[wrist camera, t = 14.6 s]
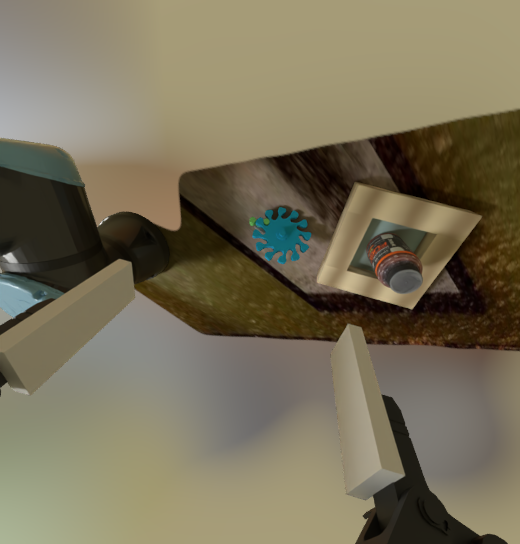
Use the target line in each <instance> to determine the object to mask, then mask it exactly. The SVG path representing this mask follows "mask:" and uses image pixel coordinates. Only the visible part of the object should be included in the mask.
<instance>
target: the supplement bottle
mask: <svg viewBox="0 0 520 544" xmlns="http://www.w3.org/2000/svg"><path fill="white" fill-rule="evenodd" d="M366 253H367V257H368V259H369V261H370V263H371V265H372V268H373V270H374V272H375V274H376V276H377V278H378V280H379V281H380V282H381V283H382V284H383V285H384V286H386V287H388V288H391V289H392V290H393V291H394V292H396V293H399V294H408V293H412V292H414V291H416V290H417V289H418V288H419V287H420V286H421V285H422V282H423V277H422V271H423V266H422V263H421V261H420V259H419V258H418V257H417V256H416V255H415V253H414V252H413V251H412V250H411V249H410V248H409V247H408V246H407V244H406V243H405V242H404V241H403V240H402V239H401V238H400V237H399V236H398V235H396V234H393V233H383V234H379V235H377V236H375V237H374V238H373V239H371V240H370V242H369V243H368V245H367V248H366Z"/></svg>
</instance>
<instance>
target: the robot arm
mask: <svg viewBox="0 0 520 544" xmlns="http://www.w3.org/2000/svg"><path fill="white" fill-rule="evenodd" d="M84 187H85V184H84V183H83V182H82V180H81V177H80V175H79V172H78V170H77V167H76V165H75V162H74V160H73V158H72V157H71V156H70V154H68V153H67V152H66V151H65V150H63V149H61V148H59V147H57V146H53V145H47V144H41V143H34V142H27V141H19V140H12V139H5V138H0V268H1V269H2V273H0V308H2V309H3V310H4V311H5V312H6V313H8V314H9V315H10V316H12V317H13V319H10V320H9V321H7V322H5V323H4V324H2V325H0V387H2V386H3V385H4V384H5V383H7V382H8V384H9V385H10V387H11V388H12V390H14V391H17V392H20V393H23V394H26V395H32V394H33V393H34V392H35V391H36V390H37V389H38V388H39V387H40V386H41V385H42V384H43V383H44V382H45V381H47V380H48V379H49V378H50V377H51V376H52V375H53V374H54V373H55V372H56V371H57V370H58V369H59V368H61V367H62V366H63V365H64V364H65V363H66V362H67V361H68V360H69V359H70V358H71V357H72V356H73V355H74V354H76V353H77V352H78V351H79V350H80V349H81V348H82V347H83V346H84V345H85V344H86V343H87V342H88V341H89V340H90V339H92V338H93V337H94V336H95V335H96V334H97V333H98V332H99V331H100V330H101V329H102V328H103V327H104V326H106V324H108V323H109V322H110V321H111V320H112V319H113V318H114V317H115V316H116V315H117V314H118V313H119V312H121V311H122V309H124V308H125V307H126V306H127V305H128V304H129V303H130V302H131V301H132V300H133V299H134V298H135V291H134V284H137V283H140V282H143V281H145V280H148V279H151V278H154V277H155V276H157V275H158V274H160V273H161V272H162V271H163V270H164V269H165V268H166V266H167V264H168V261H169V249H168V245H167V242H166V240H165V238H164V236H163V235H162V233H161V232H160V231H159V229H158V228H157V227H156V226H155V225H154V224H153V223H152V222H150V221H149V220H148V219H146V218H145V217H143V216H141V215H139V214H136V213H132V212H119V213H116V214H113V215H111V216H108V217H107V218H105V219H104V220H103V221H102V222H101V223H100V224H99V226H98V227H97V225H96V222H95V219H94V216H93V214H92V210H91V207H90V204H89V201H88V198H87V195H86V191H85V188H84ZM330 358H331V366H332V375H333V384H334V392H335V401H336V410H337V419H338V426H339V436H340V444H341V454H342V462H343V471H344V480H345V489H346V494H347V495H350V496H353V497H357V498H360V499H363V500H367V499H369V498H370V497H372V496H373V497H374V503H375V508H373V509H371V510H370V511H368V512H366V513H365V514H364V515H363V517H364V518H365V519H367V518H368V520H367V522H366V524H365V526H364V528H363V530H362V532H361V534H360V535H359V537H358V540H357V542H356V543H355V544H508V543H507V542H505V541H504V540H503V539H501V538H499V537H498V536H496V535H492V534H486V535H482V536H479V535H478V534H476V533H475V532H474V531H472V530H470V529H469V528H468V527H466V526H465V525H463V524H462V523H461V522H459V521H458V520H456V519H455V518H453V517H452V516H451V515H450V514H448V512H447V511H446V509H445V507H444V505H443V504H442V503H441V501H440V500H439V499H438V498H437V496H436V495H434V494H433V493H432V492H431V491H430V490H429V488H428V486H427V484H426V481H425V478H424V476H423V473H422V470H421V467H420V464H419V461H418V458H417V456H416V453H415V450H414V447H413V444H412V441H411V439H410V438H409V433H408V430H407V427H406V426H405V421H404V419H403V416H402V413H401V410H400V409H399V407H398V406H397V404H396V403H395V401H394V400H393V398H392V397H388V396H385V395H382V394H381V392H380V389H379V385H378V382H377V379H376V375H375V372H374V368H373V365H372V362H371V359H370V355H369V352H368V348H367V345H366V341H365V338H364V335H363V331H362V328H361V327H357V326H354V325H350V324H348V325H347V327H346V329H345V330H344V332H343V334H342V335H341V337H340V339H339V340H338V342H337V344H336V345H335V347H334V349H333V351H332V352H331V354H330ZM0 395H1V390H0Z"/></svg>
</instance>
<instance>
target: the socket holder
mask: <svg viewBox="0 0 520 544" xmlns="http://www.w3.org/2000/svg"><path fill="white" fill-rule="evenodd" d="M481 218H482V216H481V215H479V214H476V213H474V212H472V211H469V210H466V209H462V208H458V207H454V206H450V205H446V204H442V203H438V202H434V201H430V200H426V199H422V198H418V197H414V196H410V195H406V194H402V193H398V192H394V191H390V190H386V189H382V188H378V187H374V186H371V185H367V184H363V183H359V182H355V183H354V185H353V188H352V190H351V193H350V195H349V197H348V200H347V202H346V205H345V207H344V210H343V212H342V214H341V217H340V219H339V222H338V224H337V227H336V229H335V232H334V234H333V236H332V239H331V241H330V244H329V246H328V249H327V251H326V253H325V256H324V258H323V261H322V263H321V266H320V268H319V270H318V273H317V283H321V284H324V285H328V286H331V287H335V288H338V289H342V290H346V291H349V292H353V293H356V294H360V295H363V296H367V297H371V298H374V299H378V300H381V301H385V302H389V303H392V304H396V305H399V306H403V307H406V308H410V309H412V308H413V307H414V306H415V304H416V303H417V302H418V301H419V299H420V298H421V297H422V295H423V294H424V293H425V291H426V290H427V289H428V287H429V286H430V285H431V283H432V282H433V281H434V279H435V278H436V277H437V276H438V274H439V273H440V272H441V270H442V269H443V268H444V266H445V265H446V264H447V262H448V261H449V260H450V258H451V257H452V256H453V254H454V253H455V252H456V251H457V249H458V248H459V247H460V245H461V244H462V243H463V241H464V240H465V239H466V237H467V236H468V235H469V233H470V232H471V231H472V229H473V228H474V227H475V226H476V224H477V223H478V222H479V220H480V219H481ZM383 233H393V234H396V235H398V236H399V237H400V238H401V239H402V240H403V241H404V242H405V243H406V244H407V246H408V247H409V248H410V249H411V250H412V251H413V252H414V253H415V255H416V256H417V257H418V258H419V259H420V261H421V263H422V266H423V271H422V277H423V282H422V285H421V286H420V287H419V288H418V289H417V290H416V291H414V292H412V293H408V294H399V293H396V292H394V291H393V290H392V289H391V288H388V287H386V286H384V285H383V284H382V283H381V282H380V281H379V280H378V278H377V276H376V274H375V272H374V270H373V268H372V265H371V263H370V261H369V259H368V257H367V253H366V248H367V245H368V243H369V242H370V240H371V239H373V238H374V237H375V236H377V235H379V234H383Z"/></svg>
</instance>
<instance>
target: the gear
mask: <svg viewBox="0 0 520 544" xmlns="http://www.w3.org/2000/svg"><path fill="white" fill-rule="evenodd" d="M285 212H286V209H285V208H282V207H279V209H278V218H277V219H276V220H272V219H271V217H272V215H273V211H272V210H267V211H266V212H265V216H266V217H267V218H268V219H264V221H263V218H261V217H260V218H258V219H257V220H256V219H255V218H254V217H251V218H250V225H251V226H254V227H255V230H254V232H253V238H262V239H264V240H266V241H267V244H263V243H261V242H257V243H256V249H257V251H261V250H262V249H264V248H273V250H274V251H273V252H267V253H266V254H265V258H266V259H267V260H268V261H270V260H271V259H272V257H273V255H274V254H275V253H277V252H279V251H281V252H282V253H283V255H282V256H280V257H279V259H278V262H279V263H281V264H285V262H286V253H287V251H288V250H291V251H292V252H293V254H292V256H291V260H292V261H296V260H298V259H299V258H300V256H299V254H298V253H297V252H296V249H295V245H296V244H298V245H300V251H301V252H302V253H304V252H305V251H306V250H307V249H308V248H309V246H308V245H306V244H304V243H303V242H301V240H300V239H299V236H302V237H303V238H304V240H306V241H308V240H309V239H310V237H311V233H310V232H302V231H300V230H298V229H297V227H298V226H299V227H301V228H306V227H307V221H306V220H302V221H300V222H298V223H292V222H291V221H290V220H291V219H297V217H298V215H299V214H298V213H297V212H296V211H295V210H294V211H292V213H291V215H290V216H289V217H288V218H286V219H282V218H281V216H283V215H284V214H285ZM260 232H261V233H263V234H264V235H262V234H261V233H260Z"/></svg>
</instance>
